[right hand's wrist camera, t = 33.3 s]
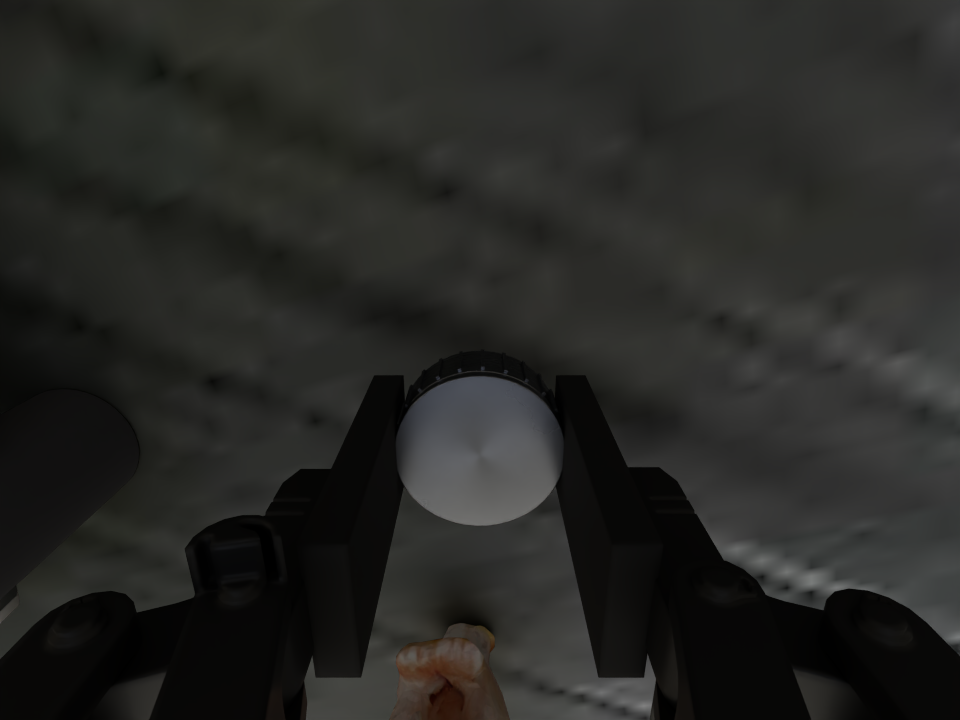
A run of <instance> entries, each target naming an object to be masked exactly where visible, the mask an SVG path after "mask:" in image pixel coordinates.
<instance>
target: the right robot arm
mask: <svg viewBox="0 0 960 720" xmlns="http://www.w3.org/2000/svg"><path fill="white" fill-rule="evenodd" d="M555 401H556V405H557V408H558V412H557V413H558V416H559V420H560V423H561V426H562V430H563V434H564V453H563V469H562V474H561V477H560V479H559V481H558V483H557V484H556V489H557V494H558V498H559V503H560V507H561V511H562V516H563V520H564V525H565V529H566V534H567V538H568V543H569V547H570V552H571V556H572V561H573V565H574V570H575V574H576V579H577V583H578V588H579V592H580V597H581V601H582V606H583V610H584V614H585V619H586V623H587V628H588V632H589V637H590V641H591V646H592V650H593V655H594V659H595V664H596V668H597V673H598V677H599V678H644V673H645V667H646V660H647V653H648V656H649V659H650V662H651V665H652V668H653V671H654V674H655V677H656V684H655V690H654V696H653V703H652V709H651V715H650V720H960V656H959V655H958V654H957V653H956V652H955V651H954V650H953V649H952V648H951V647H950V646H949V645H948V644H947V643H946V642H945V641H944V640H943V639H942V638H941V637H940V636H939V635H938V634H937V633H936V632H935V631H934V630H933V629H932V628H931V627H930V626H929V625H928V624H927V623H926V622H925V621H924V620H923V619H921V618H920V617H919V616H918V615H917V614H915V613H914V612H913V611H912V610H910V609H909V608H907V607H905V606H903V605H902V604H900V603H898V602H896V601H894V600H892V599H890V598H889V597H886V596H882V595H879V594H876V593H873V592H870V591H866V590H857V589H845V590H840V591H835V592H834V593H833V594H832V595H831V596H830V597H829V598H828V599H827V600H826V604H825V607H824V610H819V609H815V608H811V607H807V606H802V605H798V604H794V603H790V602H785V601H782V600H779V599H775V598H772V597H769V596H767V595H765V593H764V591H763V590H762V588H761V586H760V585H759V583H758V582H757V580H756V579H754V578H753V577H752V576H751V575H750V574H748V573H747V572H746V571H745V570H744V569H742V568H740V567H738V566H736V565H734V564H732V563H730V562H728V561H724V560H723V558H722V557H721V555H720V553H719V552H718V550H717V548H716V546H715V545H714V543H713V541H712V540H711V538H710V536H709V535H708V533H707V531H706V529H705V528H704V526H703V524H702V523H701V521H700V519H699V518H698V516H697V514H695V513H694V509H693V507H692V506H691V504H690V502H689V501H688V500H687V499H686V496H685V494H684V492H683V490H682V489H681V487H680V485H679V484H678V482H677V481H676V480H675V479H674V478H672V477H671V476H670V475H668V474H667V473H666V472H664V471H663V470H662V469H661V468H659V467H627V465H626V463H625V461H624V458H623V456H622V454H621V452H620V450H619V448H618V445H617V443H616V441H615V439H614V437H613V435H612V432H611V430H610V428H609V426H608V424H607V422H606V419H605V417H604V415H603V413H602V411H601V409H600V406H599V404H598V402H597V400H596V398H595V395H594V393H593V391H592V389H591V387H590V385H589V382H588V380H587V378H586V376H585V375H556V388H555ZM403 402H405V395H404V376H403V375H374V377H373V379H372V382H371V384H370V386H369V388H368V390H367V393H366V395H365V397H364V399H363V401H362V403H361V406H360V408H359V410H358V412H357V414H356V416H355V419H354V421H353V423H352V425H351V427H350V429H349V432H348V434H347V436H346V438H345V440H344V442H343V445H342V447H341V449H340V451H339V453H338V455H337V458H336V460H335V462H334V464H333V466H332V468H331V469H300V470H299V471H298V472H296V473H295V474H294V475H292V476H291V477H290V478H289V479H287V480H286V481H285V482H283V484H282V485H281V487H280V489H279V490H278V492H277V494H276V495H275V497H274V499H273V502H271V504H270V506H269V507H268V509H267V511H266V515H265V516H260V515H241V516H237V517H232V518H228V519H224V520H222V521H219V522H217V523H215V524H213V525H210V526H208V527H206V528H205V529H204V530H202V531H201V532H200V533H198V534H197V535H196V536H194V537H193V538H192V540H191V541H190V542H189V544H188V545H187V546H186V548H185V553H186V557H187V561H188V565H189V569H190V574H191V578H192V582H193V586H194V590H195V596H194V598H191V599H188V600H185V601H182V602H179V603H176V604H171V605H167V606H163V607H159V608H154V609H150V610H146V611H142V612H138V613H137V612H136V609H135V605H134V602H133V601H132V600H131V599H130V598H129V597H128V596H127V595H126V594H123V593H118V592H114V591H106V592H97V593H91V594H88V595H85V596H82V597H79V598H76V599H73V600H71V601H69V602H67V603H65V604H63V605H61V606H59V607H58V608H56V609H54V610H52V611H51V612H49V613H48V614H47V615H46V616H44V617H43V618H42V619H41V620H39V621H38V622H37V623H36V624H35V625H33V626H32V627H31V629H30V630H29V631H28V632H27V633H26V634H25V635H24V636H23V637H22V638H21V639H20V640H19V641H18V642H17V643H16V644H15V645H14V646H13V647H12V648H11V649H10V650H9V651H8V652H7V653H6V654H5V655H4V656H3V657H2V658H1V659H0V720H306V711H307V697H306V690H305V684H304V679H305V676H306V673H307V670H308V667H309V664H310V661H311V658H312V655H313V662H314V669H315V676H316V678H330V677H361V676H362V671H363V667H364V662H365V658H366V653H367V649H368V644H369V640H370V635H371V631H372V626H373V622H374V617H375V613H376V608H377V604H378V599H379V595H380V591H381V586H382V582H383V577H384V573H385V568H386V564H387V559H388V555H389V550H390V546H391V541H392V537H393V532H394V528H395V523H396V519H397V514H398V510H399V505H400V501H401V497H402V492H403V488H404V485H403V483H402V482H401V480H400V477H399V475H398V472H397V459H396V443H395V436H396V432H397V428H398V426H397V422H398V419H399V416H400V412H401V409H402V405H403Z"/></svg>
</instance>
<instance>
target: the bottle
mask: <svg viewBox="0 0 960 720" xmlns="http://www.w3.org/2000/svg"><path fill="white" fill-rule="evenodd" d="M138 461H139V446H138V442H137V439H136V436H135V434H134V432H133V430H132V428H131V426H130V425H129V423H128V422H127V420H126V419H125V418H124V417H123V416H122V415H121V414H120V413H119V412H118V411H117V410H116V409H115V408H114V407H112V406H111V405H110V404H108V403H107V402H105V401H103V400H102V399H100V398H98V397H96V396H94V395H91V394H88V393H86V392H82V391H78V390H71V389H56V390H50V391H45V392H43V393H40V394H38V395H36V396H34V397H32V398H30V399H29V400H27V401H25V402H23V403H21V404H19V405H18V406H16V407H14V408H12V409H10V410H8V411H7V412H5V413H3V414H1V415H0V599H2V598H3V597H4V596H5V595H6V594H7V593H8V592H9V591H10V590H11V589H12V588H13V587H15V586H16V585H17V584H18V583H19V582H20V581H21V580H22V579H23V578H24V577H25V576H26V575H27V574H29V573H30V572H31V571H32V570H33V569H34V568H35V567H36V566H37V565H38V564H39V563H40V562H42V561H43V560H44V559H45V558H46V557H47V556H48V555H49V554H50V553H51V552H52V551H53V550H55V549H56V548H57V547H58V546H59V545H60V544H61V543H62V542H63V541H64V540H65V539H66V538H67V537H69V536H70V535H71V534H72V533H73V532H74V531H75V530H76V529H77V528H78V527H79V526H80V525H82V524H83V523H84V522H85V521H86V520H87V519H88V518H89V517H90V516H91V515H92V514H93V513H95V512H96V511H97V510H98V509H99V508H100V507H101V506H102V505H103V504H104V503H105V502H106V501H108V500H109V499H110V498H111V497H112V496H113V495H114V494H115V493H116V492H117V491H118V490H119V489H120V488H122V487H123V486H124V485H125V484H126V483H127V482H128V481H129V480H130V479H131V477H132V476H133V475H134V473H135V471H136V469H137V465H138Z"/></svg>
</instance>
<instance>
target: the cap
mask: <svg viewBox="0 0 960 720" xmlns="http://www.w3.org/2000/svg"><path fill="white" fill-rule="evenodd" d="M557 412H558V408H557V405H556V401H555V398H554V395H553V391H552V389H550V390H549V388H548V387H547V385H546V384H545V382H544V381H543V380H542V377H541V374H540V373H538V374H537V373H536V372H535V371H534V370H532V369H531V368H530V367H529V366H527V365H526V364H525V362H524V361H522V362H521V361H519V360H517V359H515V358H513V357H510V356H507V355H506V353H502V354H501V353H496V352H489V351H484V349H481V351H470V352H463V351H461V352H459V354H455V355H452V356H449V357H447V358H445V359H442V358H441V359H439V362H437V363H435V364H434V365H432V366H431V367H430V368H428V369H427V370H423V371H422V374H421V376H420V377H419V378H418V379H417V380H416V382H415V383H414V385H410V387H409V390H408V394H407V397H406V401H405V402H403V405H402V409H401V412H400V416H399V419H398V422H397V426H398V428H397V432H396V436H395V443H396V459H397V472H398V475H399V477H400V480H401V482H402V483H403V485H404V487H405V488H406V490H407V491H408V492H409V494H410V495H411V496H412V497H413V498H414V499H415V500H416V501H417V502H418V503H419V504H420V505H421V506H422V507H424V508H425V509H426V510H428V511H429V512H431V513H433V514H434V515H436V516H438V517H441V518H443V519H445V520H448V521H451V522H454V523H459V524H464V525H472V526H489V525H496V524H501V523H505V522H509V521H511V520H514V519H517V518H519V517H521V516H523V515H525V514H527V513H529V512H530V511H532V510H533V509H535V508H536V507H537V506H538V505H540V504H541V503H542V502H543V501H544V500H545V499H546V498H547V497H548V496H549V495H550V493H551V492H552V491H553V489H554V488H555V486H556V484H557V483H558V481H559V479H560V477H561V474H562V469H563V453H564V434H563V430H562V426H561V423H560V420H559V416H558V413H557Z"/></svg>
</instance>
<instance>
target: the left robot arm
mask: <svg viewBox="0 0 960 720" xmlns="http://www.w3.org/2000/svg"><path fill="white" fill-rule="evenodd" d="M18 605H19V596H18V592H17V586H15V587H13V588H12V589H11V590H10V591H9V592H8V593H7V594H6V595H5V596H4V597H3V598H2V599H0V623H1V622H2V621H3V620H4V619H5V618H6V617H7V616H8V615H9V614H10V613H11V612H12V611H13V610H14V609H15V608H16V607H17V606H18Z"/></svg>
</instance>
